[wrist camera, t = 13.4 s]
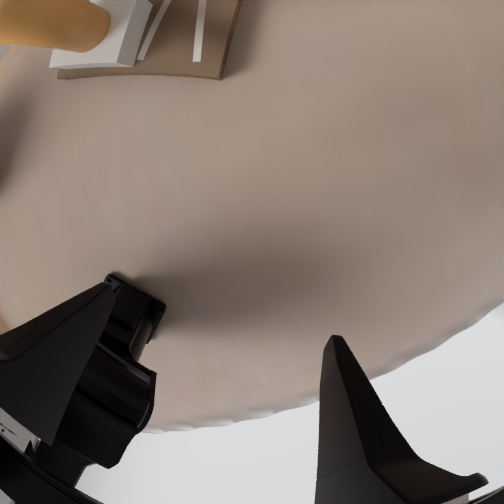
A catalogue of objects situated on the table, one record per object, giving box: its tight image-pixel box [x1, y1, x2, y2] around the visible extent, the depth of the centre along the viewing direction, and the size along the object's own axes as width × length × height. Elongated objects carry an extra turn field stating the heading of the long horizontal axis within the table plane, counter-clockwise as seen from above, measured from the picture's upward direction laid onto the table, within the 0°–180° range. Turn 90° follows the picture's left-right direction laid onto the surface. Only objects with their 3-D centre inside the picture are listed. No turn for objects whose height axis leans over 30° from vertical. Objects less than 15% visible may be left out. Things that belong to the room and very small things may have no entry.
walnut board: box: [57, 0, 242, 80], centre depth 12 cm, size 8×13×2 cm, turn 79°
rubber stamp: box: [0, 0, 153, 69], centre depth 7 cm, size 5×6×11 cm
